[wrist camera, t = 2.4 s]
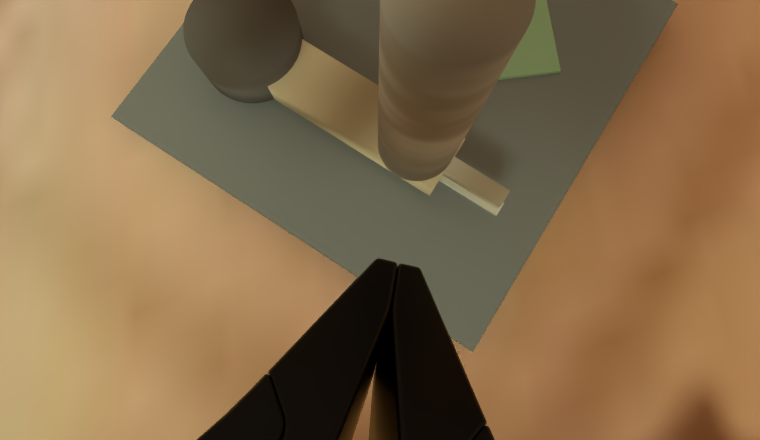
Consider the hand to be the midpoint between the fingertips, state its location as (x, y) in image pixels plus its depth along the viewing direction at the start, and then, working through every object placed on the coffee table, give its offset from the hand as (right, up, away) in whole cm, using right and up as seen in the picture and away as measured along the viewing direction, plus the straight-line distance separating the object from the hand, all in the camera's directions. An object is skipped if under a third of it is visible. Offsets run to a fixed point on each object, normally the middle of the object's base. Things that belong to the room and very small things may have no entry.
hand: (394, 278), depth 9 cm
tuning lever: (-1, +6, +10) cm, 12 cm away
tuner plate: (+1, +8, +12) cm, 15 cm away
